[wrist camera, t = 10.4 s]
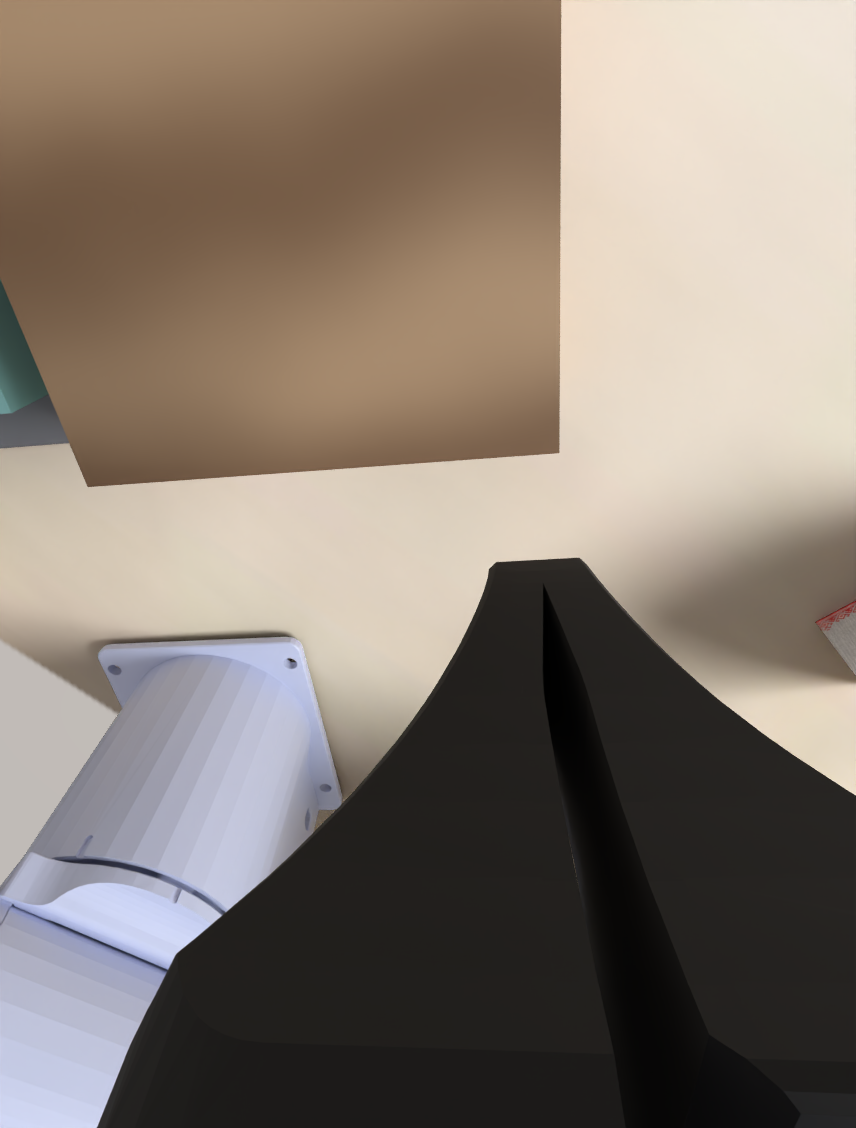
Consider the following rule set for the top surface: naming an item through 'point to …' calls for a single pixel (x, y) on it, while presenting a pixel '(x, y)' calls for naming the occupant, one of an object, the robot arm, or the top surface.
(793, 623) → the top surface
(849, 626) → the tea bag
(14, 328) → the teal rectangular block
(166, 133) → the block
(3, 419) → the mat
